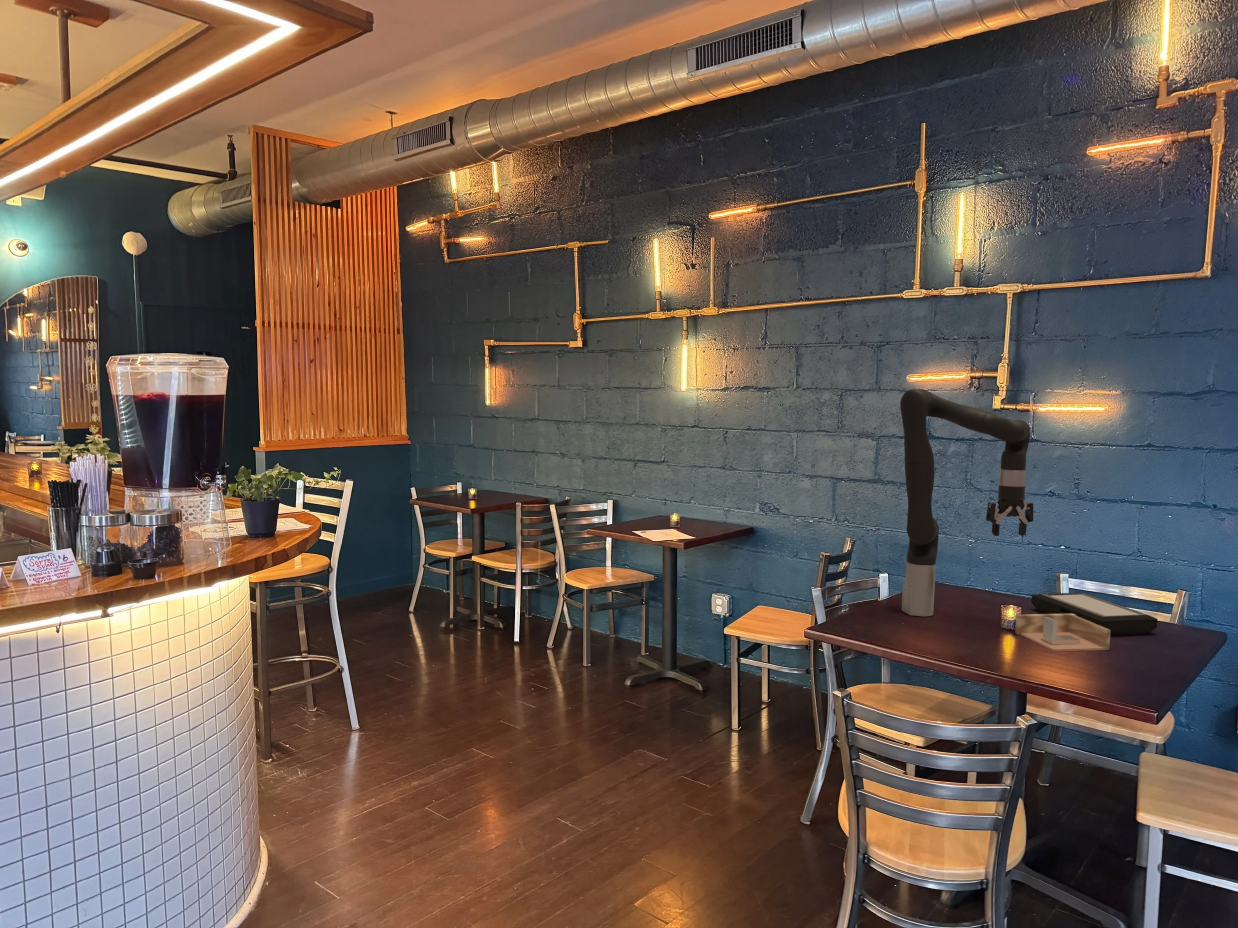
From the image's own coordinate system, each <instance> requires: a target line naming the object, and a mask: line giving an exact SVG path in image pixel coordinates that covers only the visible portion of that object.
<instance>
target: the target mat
mask: <svg viewBox="0 0 1238 928" xmlns="http://www.w3.org/2000/svg"><path fill="white" fill-rule="evenodd" d="M1061 635H1071V636H1073V637H1075V638H1077V639H1080V644H1050V643H1048V642H1046V641H1044V640H1042V638H1043V633H1020V635H1019V636H1021V637H1024V638H1025V639H1028V640H1029V641H1032V642H1034V643H1036V644H1038V645H1039V646H1041V647H1044V648H1046V649H1048V650H1050V651H1052V652H1082V651H1083V652H1084V651H1085V652H1086V651H1105V650H1104V649H1105V648H1103V647H1101V646H1099V645H1096V644H1094V643H1092V642H1090V641H1088V640H1085V639H1083V638H1081V637H1079V636H1076V635H1074V634H1072V633H1070V632H1057V634H1056V636H1061Z"/></svg>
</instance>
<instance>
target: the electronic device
mask: <svg viewBox="0 0 1238 928" xmlns="http://www.w3.org/2000/svg"><path fill="white" fill-rule="evenodd" d="M1030 602H1031V604H1032V605H1033V607H1034V608H1035V609H1036V611H1037V610H1038V611H1037V612H1039V611H1041V612H1040V613H1042V612H1044V613H1043V614H1045V613H1046V614H1075V615H1076V616H1078V617H1080V618H1083V619H1085V620H1088V621H1090V622H1092V623H1095V624H1097V625H1100V626H1102V627H1105V628H1107V629H1109V630H1111V632H1110V637H1111V635H1112V636H1129V634H1134V635H1144V634H1143V633H1149V634H1150V633H1151V632H1152V631H1154V630H1156V629H1157V627H1158V618H1157V617H1155V616H1152V615H1149V614H1147V613H1143V612H1140V611H1138V610H1134V609H1131V608H1129V607H1126V606H1123V605H1120V604H1116V603H1114V602H1111V601H1108V600H1105V599H1103V598H1099V597H1097V596H1093V595H1091V594H1087V593H1084V592H1061V593H1059V592H1057V593H1056V592H1055V593H1054V592H1053V593H1037V594H1032V595H1031V601H1030Z"/></svg>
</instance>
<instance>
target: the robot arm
mask: <svg viewBox="0 0 1238 928" xmlns="http://www.w3.org/2000/svg"><path fill="white" fill-rule="evenodd" d="M899 403H900V404H899V409H900V413H901V420H902V421H901V422H902V425H903V447H904V448H903V449H904V476H905V486H906V487H905V488H906V494H907V495H906V497H907V519H906V534H907V536H908V539H909V540H908V549H907V553H906V567H905V569H906V570H905V582H904V583H902V594H901V595H902V598H901V611H902V612H903V613H905V614H907V615H908V616H916V617H931V616H933V615H934V603H935V602H934V601H935V588H936V587H935V586H936V585H935V584H936V565H937V557H938V547H939V536H940V535H939V533H940V528H939V524H938V522H937V520H936V518H934V517H933V508H932V500H933V499H932V498H933V491H934V485H935V474H936V473H935V459H934V457H935V456H934V453H933V448H932V445H931V442H930V440H929V436H928V433H927V417H931V418H936V419H937V418H938V419H941V420H944V421H947V422H951V423H953V424H955V425H957V426H959V427H962V428H965V429H967V430H969V431H973V432H976V433H980V434H983V435H989V436H991V437H993V438H996V439H997V440H1000V441H1003V442H1005V445H1004V450H1003V452H1002V453H1001V456H1000V471H999V473H998V489H997V490H998V491H997V498H998V501H997V502H992V501H991V502H990V501H989V502H988V504H987V510H986V516H985V517H986V519H985V520H986V521H987V522H990V523H991V534H992V535H993V536H994V537H999V536H1000V529H1001V528H1000V525H1001V524H1000V523H1001V522H1002V520H1004V519H1005V518H1006V517H1007V518H1009V517H1010V518H1011V517H1013V518H1016V519H1017V520H1018V521H1019V523H1018V535H1019V536H1021V537H1025V535H1026V534H1027V527H1028V526H1027V525H1028V523H1032V522H1034V503H1032V502H1030V501H1026V502H1024V500H1025V498H1026V497H1025V495H1026V481H1027V478H1026V477H1027V476H1026V475H1027V474H1026V466H1027V453H1028V448H1029V443H1030V438H1031V429H1030V428H1031V427H1030V426H1029V424H1028V423H1027V422H1026V421H1025V420H1023V419H1011V418H1008V417H1003V416H999V415H998V414H996V413H995V412H994V413H993V412H991V411H987V410H983V409H980V408H976V407H972V406H968V405H965V404H960V403H957V402H954V401H951V400H948V399H945V398H942V397H941V396H938V395H937V394H935V393H933V392H930V391H928V390H927V389H922V388H912V389H909V390H907V391H905V392H904V393H903V395H902V396H901V399H900V402H899ZM997 509H998V510H997ZM996 510H997V511H996ZM1023 510H1024V512H1023Z"/></svg>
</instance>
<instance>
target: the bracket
mask: <svg viewBox="0 0 1238 928" xmlns="http://www.w3.org/2000/svg"><path fill="white" fill-rule="evenodd" d="M1056 634H1057V621H1056V620H1054V619H1051V618H1049V617H1044V624H1043V638H1042V640H1044V641H1046V642H1048V643H1050V644H1080V639H1077V638H1075V637H1073V636H1071V635H1061V636H1056Z"/></svg>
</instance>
